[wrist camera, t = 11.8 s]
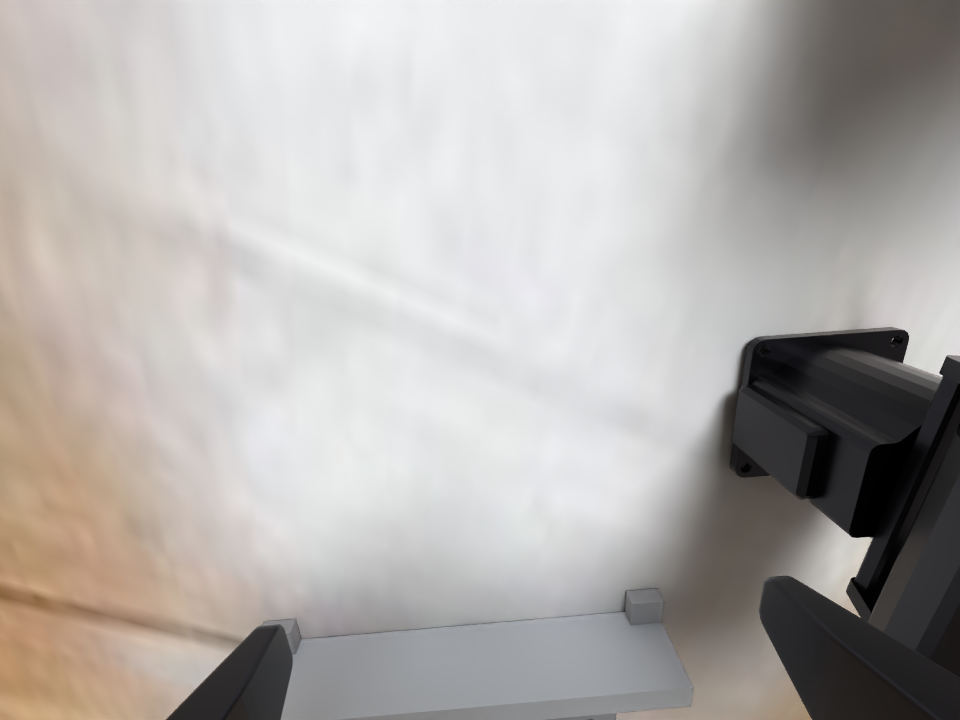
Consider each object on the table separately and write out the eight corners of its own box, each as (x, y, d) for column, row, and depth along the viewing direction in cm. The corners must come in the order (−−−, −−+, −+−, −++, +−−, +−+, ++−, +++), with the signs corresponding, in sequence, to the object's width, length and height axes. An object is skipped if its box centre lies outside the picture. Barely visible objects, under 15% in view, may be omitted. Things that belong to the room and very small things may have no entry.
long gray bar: (657, 588, 23) (696, 664, 19) (651, 645, 24) (688, 727, 20) (263, 621, 22) (223, 706, 18) (280, 677, 24) (246, 768, 20)
